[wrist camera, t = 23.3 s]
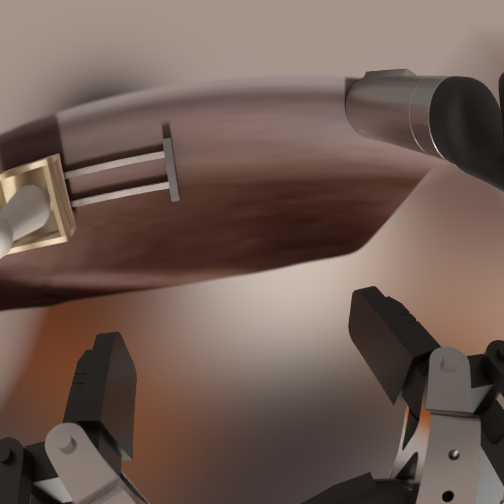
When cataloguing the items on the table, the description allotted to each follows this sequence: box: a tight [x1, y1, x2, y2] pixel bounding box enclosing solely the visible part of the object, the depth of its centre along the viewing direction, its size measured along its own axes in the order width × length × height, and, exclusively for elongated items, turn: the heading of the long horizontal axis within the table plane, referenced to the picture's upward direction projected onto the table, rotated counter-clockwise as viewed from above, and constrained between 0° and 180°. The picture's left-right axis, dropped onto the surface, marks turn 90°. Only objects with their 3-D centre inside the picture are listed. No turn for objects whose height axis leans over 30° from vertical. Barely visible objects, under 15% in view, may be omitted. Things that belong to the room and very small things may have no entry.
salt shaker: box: [0, 185, 51, 258], centre depth 27 cm, size 6×6×13 cm
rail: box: [63, 137, 180, 208], centre depth 35 cm, size 28×9×2 cm, turn 94°
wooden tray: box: [0, 154, 77, 254], centre depth 33 cm, size 10×10×5 cm
